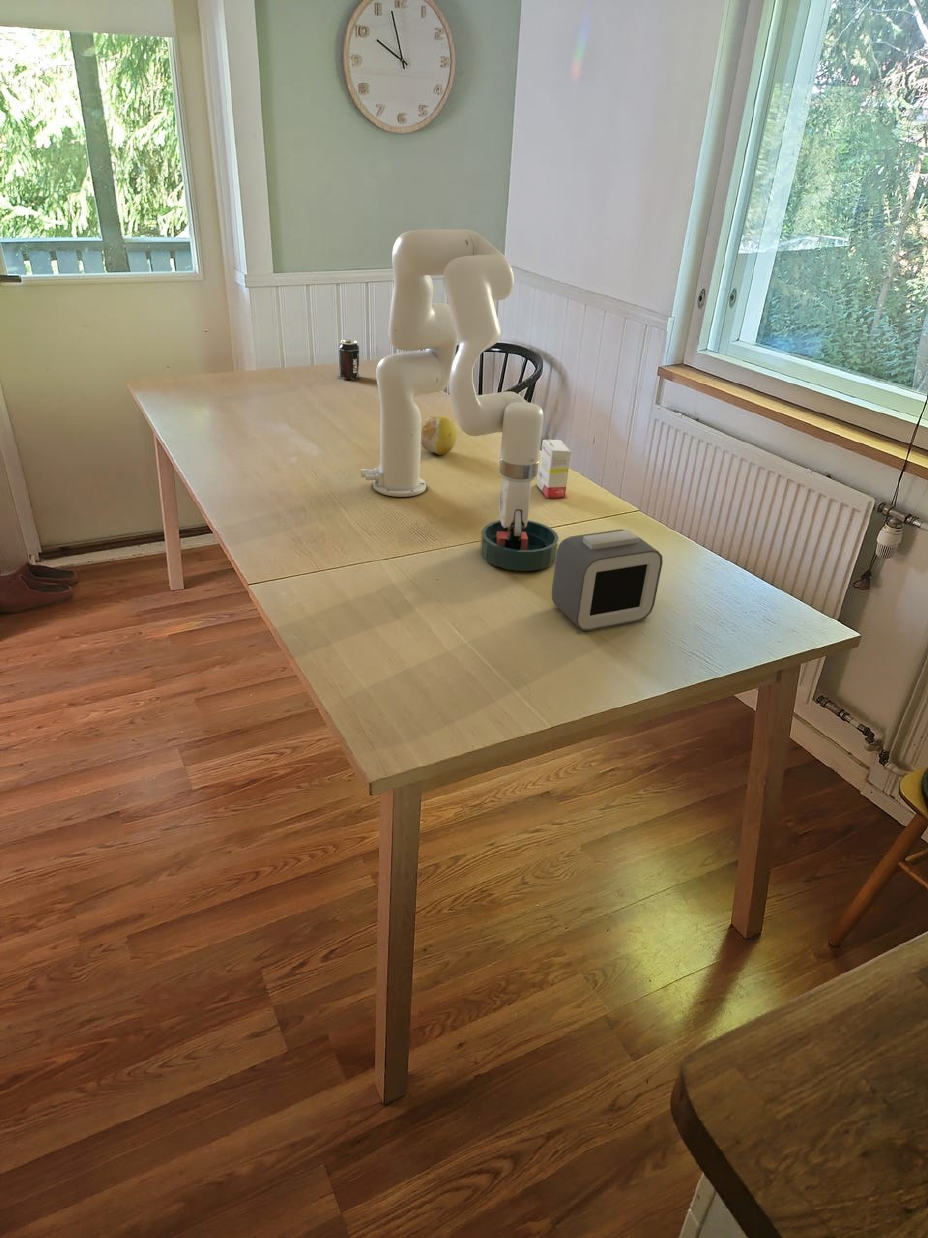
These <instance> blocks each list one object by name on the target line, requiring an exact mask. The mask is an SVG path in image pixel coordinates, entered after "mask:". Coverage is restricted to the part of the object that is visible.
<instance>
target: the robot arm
mask: <svg viewBox="0 0 928 1238" xmlns="http://www.w3.org/2000/svg"><path fill="white" fill-rule="evenodd" d="M391 263H392V264H391V265H392V273H393V288H392V295H391V303H390V310H389V320H388V333H387V334H388V340H389V343H390V344H391V346H392V347H393V348H395V349H396V350H399V351H404V352H396V353H392V354H388V355H386V356H384V357H383V358H381V359H380V361H378V363H377V365H376V368H375V378H376V379H375V380H376V385H377V390H378V391H377V392H378V399H379V419H380V420H379V428H380V429H379V440H380V441H379V448H380V449H379V464H378V468H376V467H375V468H374V469H366V468H360V477H361V478H365V481H373V485H372V486H373V489H374V490H375V491H376V492H378V493H379V494H382V495H385V496H389V497H394V498H408V497H415V496H418V495H421V494H423V493H424V492H425V491H426V489H427V482H426V481H425V480H424V479H423V478H421V453H422V445H421V426H422V425H421V424H422V422H423V421H422V420H423V419H422V414H421V413H422V412H421V410H420V409H419V407H418V405H417V404H416V402H415V400H414V397H416V396H421V395H422V396H423V395H428V394H429V395H430V394H435V393H440V392H442V391H444V390H445V389H446V388H447V387H448V388H449V389H448V391H449V396H450V400H451V405H452V408H453V413H454V416H455V419H456V422H457V424H458V426H459V428H460V429H461V431H462V432H463V433H464V434H466V435H468V436H471V437H480V436H485V435H490V434H491V435H492V434H497V433H501V445H500V456H499V468H498V475H499V476H500V477H501V481H500V482H501V483H500V490H499V498H498V506H497V512H498V517H499V520H500V521H501V525H502V526H503V527H504V529H506V530H503V531H505V532H507V539H505V547H506V548H509V549H515V550H520V549H521V535H522V527H523V529H524V528H525V527H526V526H527V522H528V520H529V513H530V503H531V502H530V501H531V492H532V490H531V489H532V482H533V481H535V480H536V479H538V473H539V464H540V455H541V446H542V444H541V443H542V435H543V434H542V433H543V427H544V426H543V425H544V417H545V416H544V411H543V409H542V407H541V406H540V405H538V404H535V403H532V402H528V401H527V400H526V399H525V398H524V397H522V396H521V395H520V394H519V393H517V392H515V391H510V390H509V391H501V392H491V393H486V394H485V393H484V394H478V395H477V392H476V388H475V385H474V376H473V375H474V369H475V365H476V362H477V360H478V359H479V357H480V355H482V353H483V352H485V351H487V350H488V349H490V348H492V347H493V346H494V345H495V344H497V343H498V342H499V341H500V340H501V337H502V331H501V325H500V323H499V318H498V315H497V311H496V310H497V309H496V306H495V302H494V301H496V302H497V301H502V300H506V299H507V298H509V296H511V294H512V292H513V290H514V286H515V275H514V272H513V271H514V270H513V268H512V266H511V264H510V262H509V260H508V259H507V258H506V256H504V254H503V253H502V252H501V251H499V249H497V248H496V247H495V246H494V245H493V244H492V243H490V242H489V241H488V240H486V238H485V237H483V236H482V235H481V234H479V233H478V232H476V231H475V230H471V229H467V228H446V229H445V228H443V229H442V228H424V229H413V230H408V231H404V232H403V233H401V234H400V235H399V236H397V238H396V240H395V242H394V244H393V247H392V254H391ZM431 276H433V277H434V276H442V281H443V286H444V290H445V295H446V298H447V302H448V303H445V302H440V301H439V302H435V301H434V302H433V297H434V292H435V291H434V282H433V279H432V277H431ZM457 347H458V348H457Z"/></svg>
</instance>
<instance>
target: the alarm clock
mask: <svg viewBox="0 0 928 1238" xmlns="http://www.w3.org/2000/svg"><path fill="white" fill-rule="evenodd" d="M662 569H663V555H662V554H661V553H660V551H658V550H657V549H656V548H655V547H653V546H652V545H650V544H649V543H648V542H647V541H645V540H644V539H642V538H641V537H640V536H638V535H637V534H636V533H634V532H633V531H631V530H630V529H614V530H606V531H599V532H592V533H585V534H578V535H573V536H572V535H570V536H568V537H566V538H563V540H561V541H560V543H558V548H557V553H556V559H555V562H554V569H553V577H552V585H551V593H550V594H551V600H552V602H553V604H554V605H555V606H556V607H557V608H558V610H560V611H561V612H562V613H563V614H564V615H565V616H566V617H567V618H568V620H570V621H571V622H572V623H573V624H574V625H575V626H576V627H577V628H578V629H580V630H581V631H583V632H592V631H596V630H602V629H607V628H612V627H617V626H622V625H627V624H632V623H638V622H641V621H643V620H645V619H646V618H647V617H649V615H651V613H652V611H653V610H654V607H655V602H656V598H657V593H658V587H659V582H660V578H661V574H662Z"/></svg>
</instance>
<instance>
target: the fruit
mask: <svg viewBox="0 0 928 1238" xmlns="http://www.w3.org/2000/svg"><path fill="white" fill-rule="evenodd" d="M421 425H422V426H421V448H423V449H424V450H426V451H427V452H431V453H434V454H436V455H446V454H449V452H451V451H452V450H453V448H454V447H455V445H456V442H457V435H458V433H457V428H456V426H455V424H454V422H453V421H452V419H450V417H447V416H445V415H432V416H430V417H428V418H426V419H424V420H423V421H422V423H421Z"/></svg>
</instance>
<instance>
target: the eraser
mask: <svg viewBox="0 0 928 1238" xmlns="http://www.w3.org/2000/svg"><path fill="white" fill-rule="evenodd" d="M505 539H507V532H505V531H497V537H496V544H497V545H499V546H502V547H505ZM527 544H528V537H527V534H526V532H522V535H521V549H520V550H527Z"/></svg>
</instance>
